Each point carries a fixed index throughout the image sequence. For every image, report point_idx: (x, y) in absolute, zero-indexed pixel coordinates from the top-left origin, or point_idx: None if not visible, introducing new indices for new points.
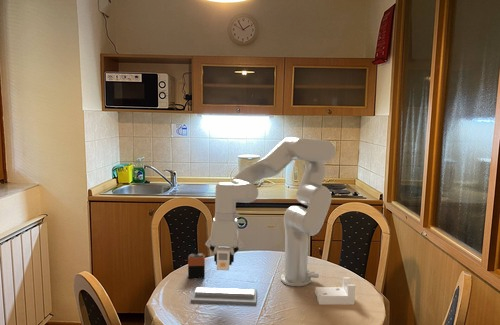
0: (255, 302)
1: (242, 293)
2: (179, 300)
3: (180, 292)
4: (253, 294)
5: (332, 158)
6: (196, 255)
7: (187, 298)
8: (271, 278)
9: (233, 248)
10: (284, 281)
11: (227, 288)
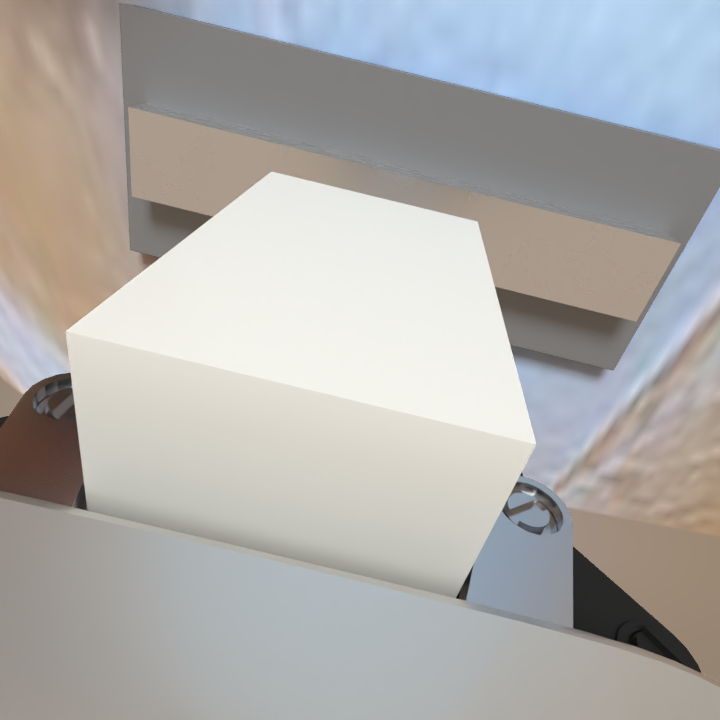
0: (609, 368)
1: (541, 297)
2: (53, 201)
3: (11, 50)
4: (634, 319)
5: None
6: None
7: (102, 178)
8: None
9: (536, 601)
10: None
11: (440, 83)
